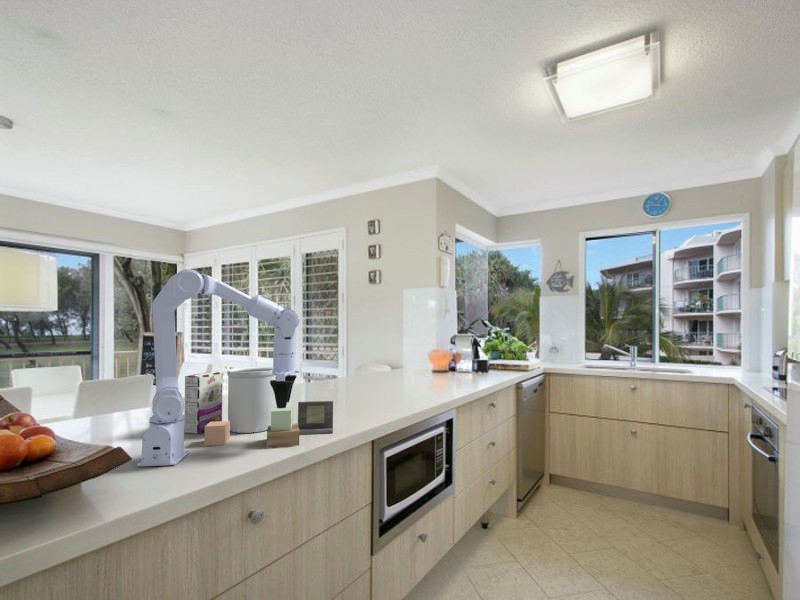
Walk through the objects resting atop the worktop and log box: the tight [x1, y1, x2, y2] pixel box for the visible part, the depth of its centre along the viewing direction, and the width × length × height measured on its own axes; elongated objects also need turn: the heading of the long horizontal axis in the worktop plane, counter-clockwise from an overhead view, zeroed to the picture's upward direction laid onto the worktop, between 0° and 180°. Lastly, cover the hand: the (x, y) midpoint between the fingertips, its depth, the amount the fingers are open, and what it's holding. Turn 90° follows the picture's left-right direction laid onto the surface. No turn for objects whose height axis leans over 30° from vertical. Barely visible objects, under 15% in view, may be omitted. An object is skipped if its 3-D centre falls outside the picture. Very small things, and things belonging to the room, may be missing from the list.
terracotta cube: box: [203, 420, 231, 447], centre depth 109 cm, size 5×5×5 cm
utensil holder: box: [226, 366, 277, 434], centre depth 125 cm, size 15×15×18 cm
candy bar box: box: [184, 370, 224, 435], centre depth 123 cm, size 11×5×16 cm, turn 168°
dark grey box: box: [297, 400, 334, 435], centre depth 121 cm, size 6×10×8 cm, turn 99°
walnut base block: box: [266, 423, 300, 448], centre depth 109 cm, size 8×8×4 cm
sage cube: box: [271, 406, 294, 431], centre depth 110 cm, size 5×5×5 cm
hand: (283, 405), depth 110 cm, fingers open, 7 cm apart
